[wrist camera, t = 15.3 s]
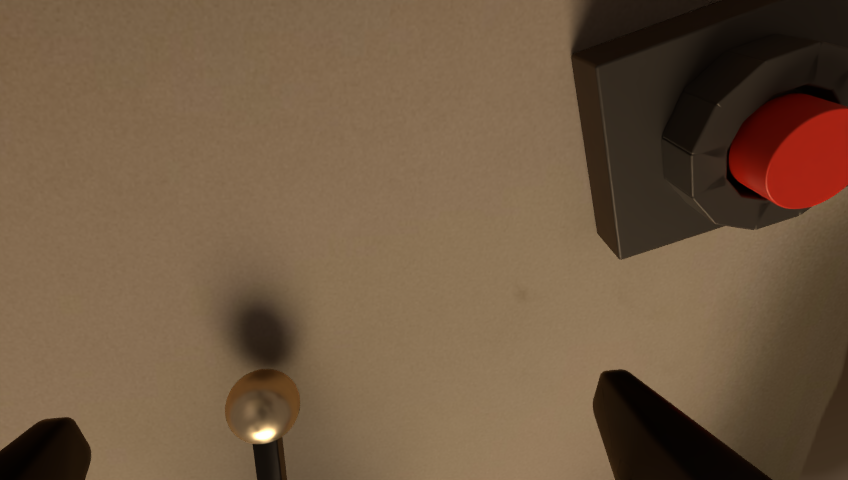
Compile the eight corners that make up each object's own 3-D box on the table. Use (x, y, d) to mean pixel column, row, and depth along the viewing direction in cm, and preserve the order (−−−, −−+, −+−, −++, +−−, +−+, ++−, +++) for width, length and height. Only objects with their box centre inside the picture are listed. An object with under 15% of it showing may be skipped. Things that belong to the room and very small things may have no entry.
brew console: (597, 234, 21) (641, 287, 18) (569, 54, 17) (621, 78, 14) (822, 159, 20) (915, 200, 17) (851, -47, 16) (981, -49, 13)
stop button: (726, 199, 16) (762, 222, 15) (728, 113, 15) (769, 130, 13) (819, 168, 16) (864, 190, 15) (831, 78, 15) (884, 91, 13)
